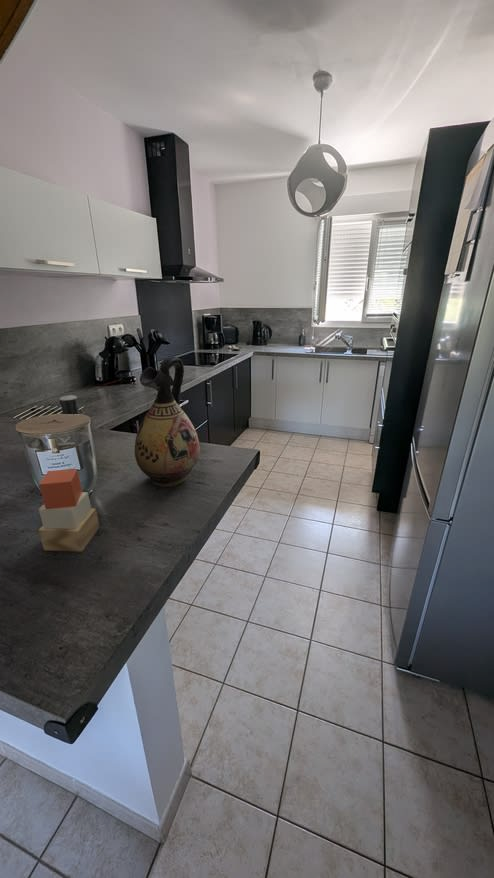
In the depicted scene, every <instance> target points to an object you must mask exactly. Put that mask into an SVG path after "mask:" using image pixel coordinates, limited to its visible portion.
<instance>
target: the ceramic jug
mask: <svg viewBox="0 0 494 878" xmlns="http://www.w3.org/2000/svg"><path fill="white" fill-rule="evenodd" d="M172 367H174V377H172V376H171V374H170V369H171V368H172ZM184 373H185V367H184V362H183V360H182V359H181V358H179V357H178V356H170V357H165V358H164V359H163V360H162V361H161V363H160V368H159V369H158V370H157V369H155V368H153V367H151V366H148V367H145V369H143V371H142V372H141V373H140V375H139V382H140V384H141V385H142V386H143V387H147V388H150V389H154V390H156V391H157V394H156V398H155V399H154V401H153V403H152V405H151V406H150V408H149V409H148V411H147V412H146V414H145V415H144V418H143V420H142V421H141V424H140V425H139V427H138V429H137V430H138V431H137V433H136V437H135V443H134V458H135V461H136V464H137V466H138V468H139V469H140V470H141V471H142V472H141V473H144V474H145V476H147V477H148V478H149V481H150V483H151V484H152V486H154V487H163V488H169V487H175V486H178V485H180V484H182V483H184V482H185V481H186V480H187V479H188V476H189V474H190V473H191V471H192V470H193V469H194V467H195V466H196V465H197V463H198V460H199V457H200V453H201V452H200V449H201V448H200V440H199V437H198V433H197V431H196V429H195V427H194V425H193V423H192V421H191V420H190V418H189V416H188V415H187V413H185V411H184V410H183V409H182V408H181V406H180V404H181V403H180V401H181V399H180V397H181V391H182V386H183V382H184V375H185V374H184Z"/></svg>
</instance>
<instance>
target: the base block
mask: <svg viewBox="0 0 494 878" xmlns="http://www.w3.org/2000/svg"><path fill="white" fill-rule="evenodd" d="M99 529H100V522H99V517H98V513H97V508H95V507H93V508H92V507H91V511H90V512H89V514H88V515H87V516H86V517H85V518H84V520H83V521H82V522H81V523H80V525H79V526H78V527H77V528H76V529H62V528H44V527H43V525H42V526H41V527H39V529H38V534H39V538H40V542H41V545H42V549H43V551H54V552H81V553H82V552H84V550H85V548H86V547H87V546H88V544H89V543H90V542H91V540H92V539H93V537H94V536H96V535H95V534H96V533H98V530H99Z"/></svg>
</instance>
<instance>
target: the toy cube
mask: <svg viewBox="0 0 494 878" xmlns="http://www.w3.org/2000/svg"><path fill="white" fill-rule="evenodd" d="M39 488H40V489H39V490H40V492H41V496H42V501H43V505H44V504H45V508H46V509H53V508H62V507H71V506H76V505H77V503H78V500H79V498H80V496H81V493H82V492H83V489H82V483H81V479H80V473H78V469H70V468H67V469H56V470H48V471H47V472H46V474H45V475H44V476H43V478H42V479H41V481H40V483H39Z"/></svg>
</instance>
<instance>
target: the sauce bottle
mask: <svg viewBox="0 0 494 878" xmlns="http://www.w3.org/2000/svg"><path fill="white" fill-rule="evenodd" d="M58 400H59V405H60V406H61V412H62V415H63V414H80V415H81V411H80V408H79V400H78V396H76V395H64V396H61V397H59V399H58Z"/></svg>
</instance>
